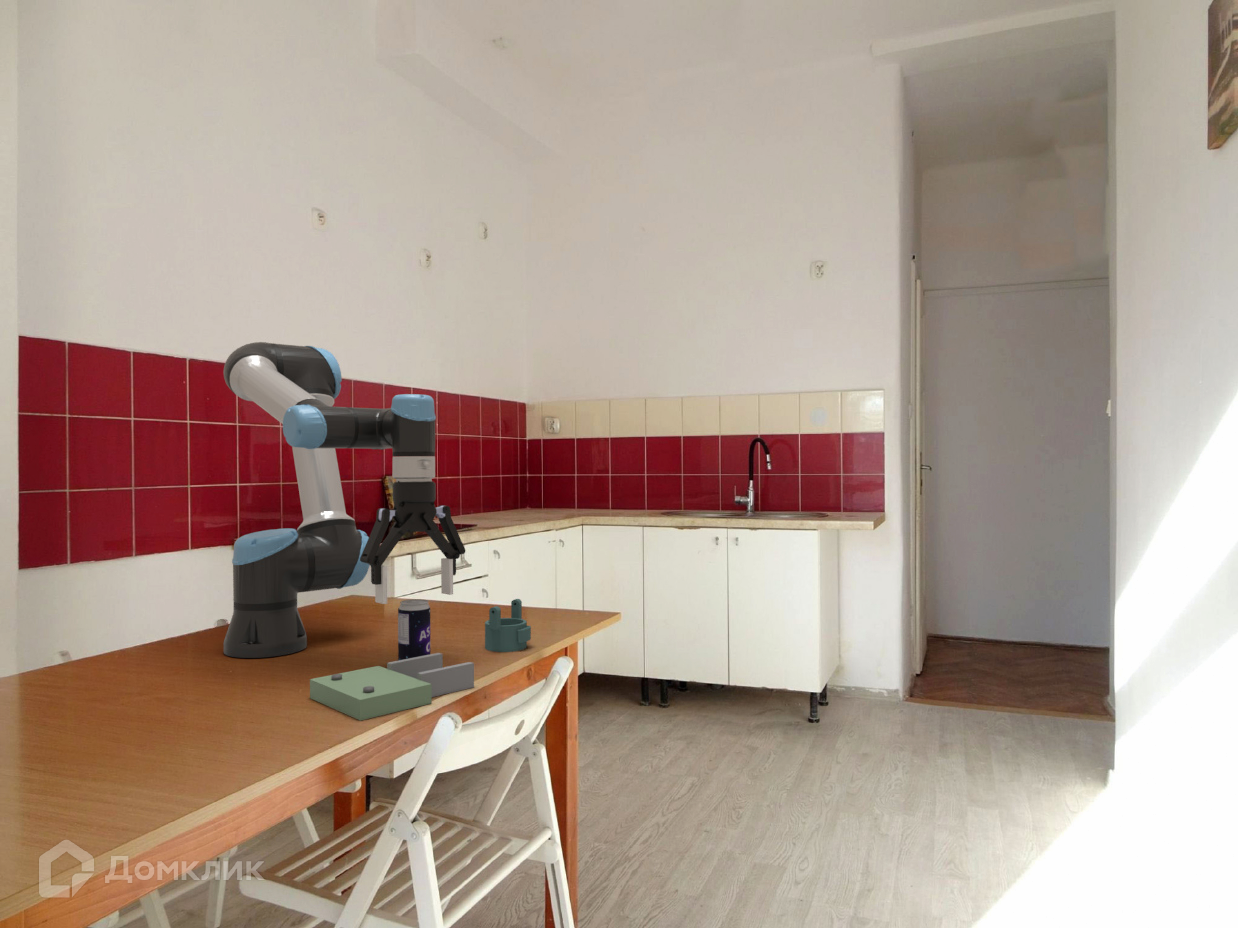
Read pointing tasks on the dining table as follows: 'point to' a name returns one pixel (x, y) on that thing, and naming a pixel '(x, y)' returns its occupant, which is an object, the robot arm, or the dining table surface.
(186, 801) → the dining table surface
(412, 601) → the beverage can
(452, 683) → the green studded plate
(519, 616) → the bracket
